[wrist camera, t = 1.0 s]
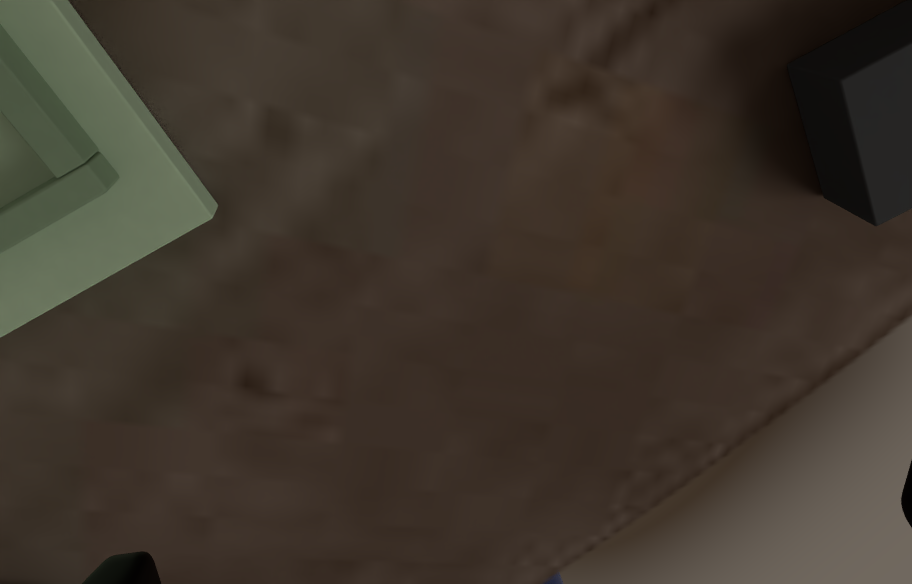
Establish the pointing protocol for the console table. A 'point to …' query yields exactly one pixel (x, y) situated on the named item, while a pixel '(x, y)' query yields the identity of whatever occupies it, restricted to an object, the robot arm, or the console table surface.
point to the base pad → (77, 165)
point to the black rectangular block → (861, 115)
